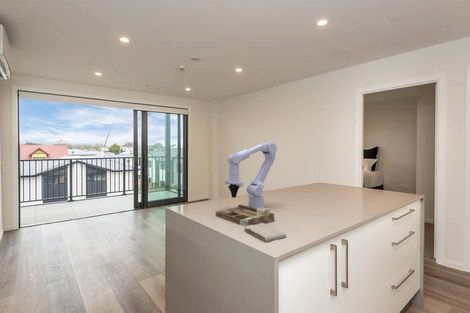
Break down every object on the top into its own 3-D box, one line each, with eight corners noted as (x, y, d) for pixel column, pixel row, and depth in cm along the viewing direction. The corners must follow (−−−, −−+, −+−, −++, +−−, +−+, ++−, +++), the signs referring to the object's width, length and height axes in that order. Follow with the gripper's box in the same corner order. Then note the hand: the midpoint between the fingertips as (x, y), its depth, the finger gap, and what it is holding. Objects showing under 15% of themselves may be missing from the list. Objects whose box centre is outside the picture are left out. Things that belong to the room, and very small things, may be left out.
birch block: (263, 214, 134) (263, 207, 134) (270, 216, 130) (270, 209, 130) (256, 216, 131) (256, 208, 131) (263, 218, 127) (263, 210, 127)
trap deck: (239, 210, 153) (239, 204, 152) (274, 221, 131) (274, 213, 131) (215, 216, 141) (215, 209, 141) (249, 228, 120) (249, 219, 119)
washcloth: (262, 227, 122) (262, 221, 122) (287, 238, 107) (287, 231, 107) (242, 231, 116) (242, 224, 116) (265, 244, 101) (265, 236, 101)
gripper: (221, 174, 150) (221, 196, 150) (237, 176, 139) (237, 200, 139) (230, 173, 154) (230, 195, 155) (246, 175, 143) (246, 198, 144)
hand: (234, 197), depth 147 cm, fingers closed
